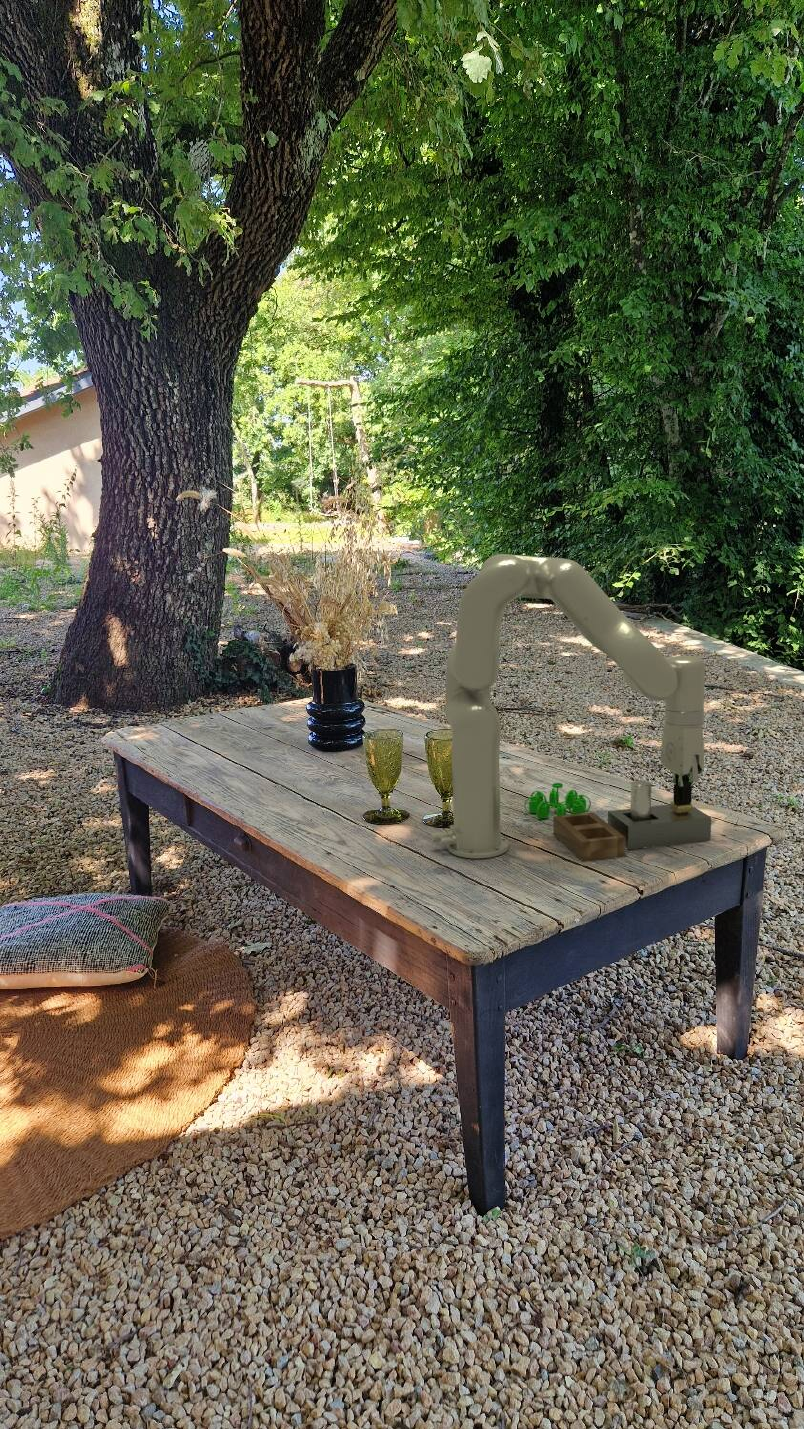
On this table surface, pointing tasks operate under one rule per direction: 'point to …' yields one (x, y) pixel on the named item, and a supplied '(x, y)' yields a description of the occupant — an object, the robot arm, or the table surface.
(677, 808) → the release key
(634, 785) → the grey tall cylinder
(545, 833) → the table surface
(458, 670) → the robot arm
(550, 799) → the chandelier
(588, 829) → the frame
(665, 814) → the socket block
